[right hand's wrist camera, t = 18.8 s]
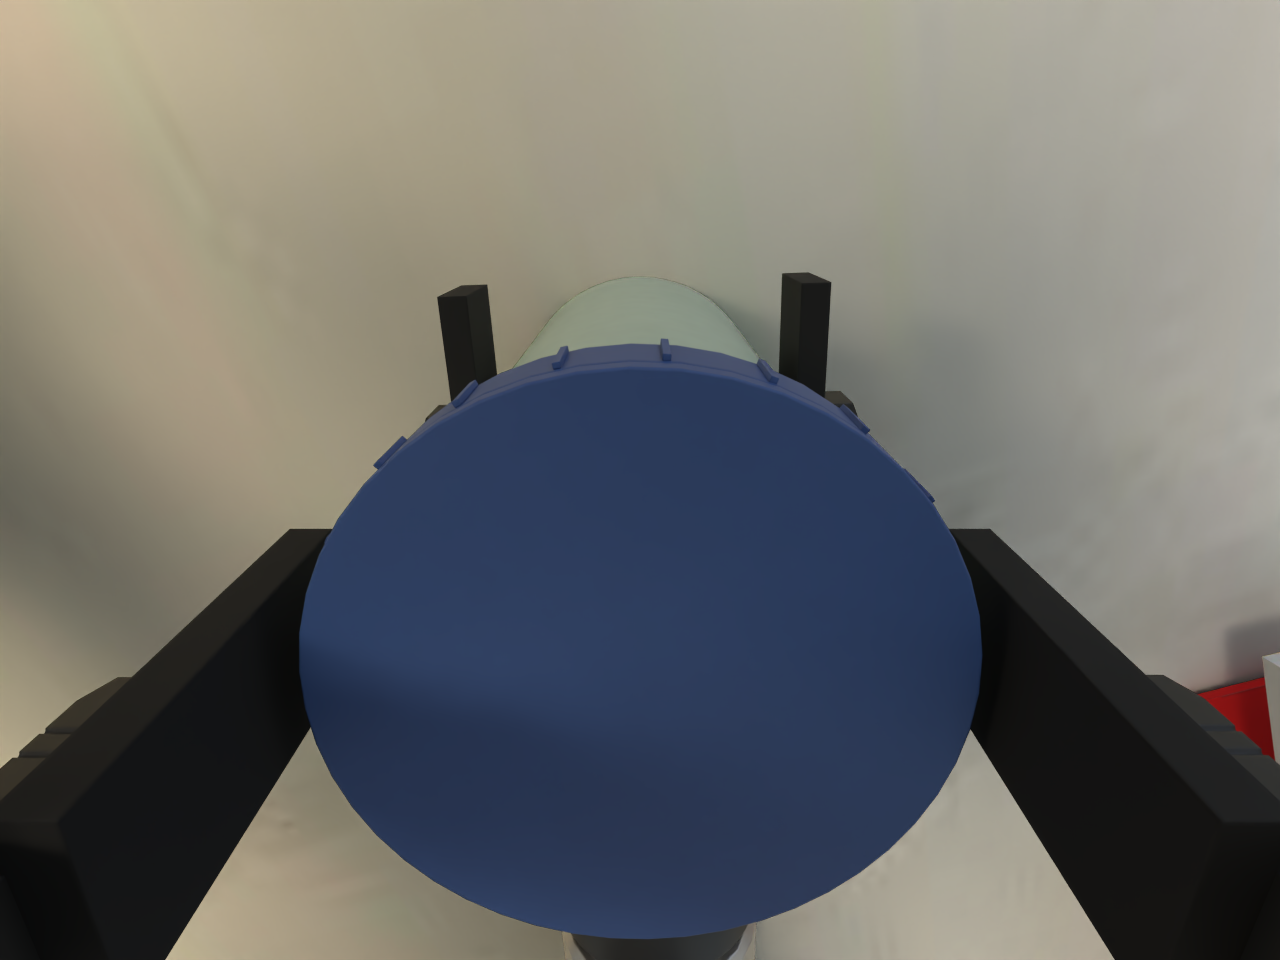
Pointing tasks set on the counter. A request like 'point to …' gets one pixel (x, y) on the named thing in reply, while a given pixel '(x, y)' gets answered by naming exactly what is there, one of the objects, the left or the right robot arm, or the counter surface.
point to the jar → (639, 320)
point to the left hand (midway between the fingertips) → (633, 284)
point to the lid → (640, 644)
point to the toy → (1254, 706)
